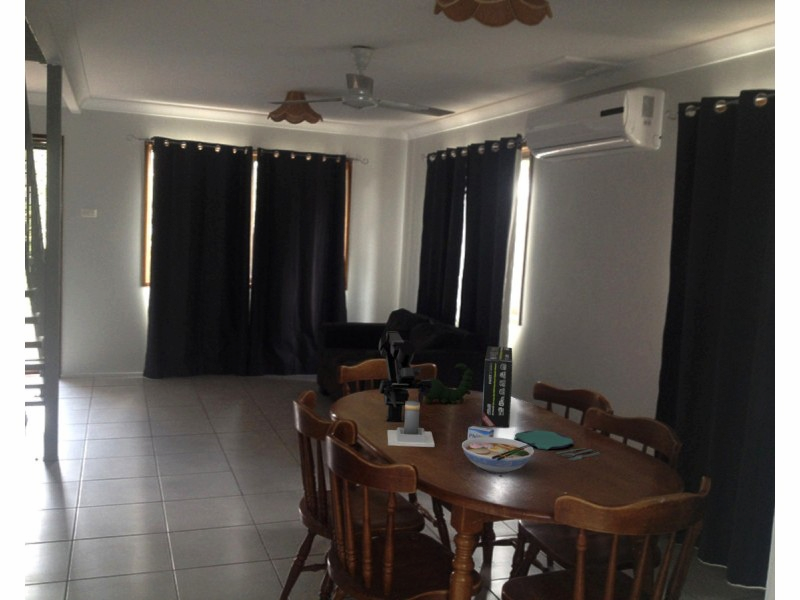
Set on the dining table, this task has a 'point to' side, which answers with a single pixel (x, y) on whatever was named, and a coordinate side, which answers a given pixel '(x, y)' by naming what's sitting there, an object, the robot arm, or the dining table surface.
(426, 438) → the socket plate
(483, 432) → the medicine box
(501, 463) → the ramen bowl
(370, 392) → the dining table surface
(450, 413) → the dining table surface
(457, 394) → the toy figurine
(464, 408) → the dining table surface
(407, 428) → the grey can
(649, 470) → the dining table surface
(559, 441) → the cutlery set
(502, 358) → the router box
